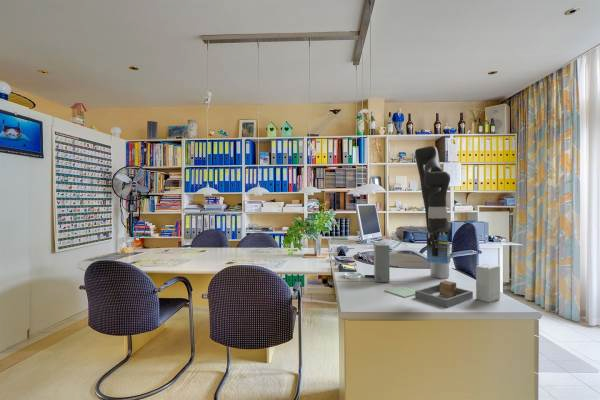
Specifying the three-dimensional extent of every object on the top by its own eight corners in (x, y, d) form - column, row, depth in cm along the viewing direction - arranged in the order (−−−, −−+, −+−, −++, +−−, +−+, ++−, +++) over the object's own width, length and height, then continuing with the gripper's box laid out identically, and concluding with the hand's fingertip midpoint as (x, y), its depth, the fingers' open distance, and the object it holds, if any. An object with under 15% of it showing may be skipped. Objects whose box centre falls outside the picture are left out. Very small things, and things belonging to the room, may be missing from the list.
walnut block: (445, 293, 138) (445, 280, 138) (456, 295, 134) (456, 282, 134) (439, 295, 136) (439, 282, 136) (450, 297, 131) (450, 284, 131)
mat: (400, 286, 149) (400, 285, 149) (421, 292, 139) (421, 291, 139) (384, 291, 142) (384, 290, 142) (404, 297, 132) (404, 296, 132)
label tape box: (450, 262, 127) (450, 234, 128) (447, 264, 125) (447, 235, 125) (429, 260, 134) (429, 233, 134) (426, 261, 131) (426, 233, 131)
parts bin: (441, 289, 143) (440, 283, 143) (472, 298, 130) (472, 291, 130) (415, 297, 132) (415, 290, 132) (447, 307, 120) (447, 300, 120)
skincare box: (487, 295, 133) (486, 263, 133) (501, 299, 128) (500, 265, 128) (475, 298, 130) (474, 265, 130) (489, 302, 124) (488, 267, 124)
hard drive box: (390, 283, 156) (389, 245, 156) (375, 282, 158) (374, 245, 158) (387, 275, 171) (386, 241, 171) (373, 275, 173) (373, 241, 173)
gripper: (438, 215, 136) (439, 252, 136) (420, 217, 128) (420, 256, 128) (454, 216, 130) (455, 254, 130) (435, 218, 122) (436, 259, 122)
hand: (438, 255), depth 129 cm, fingers closed on label tape box, 4 cm apart
